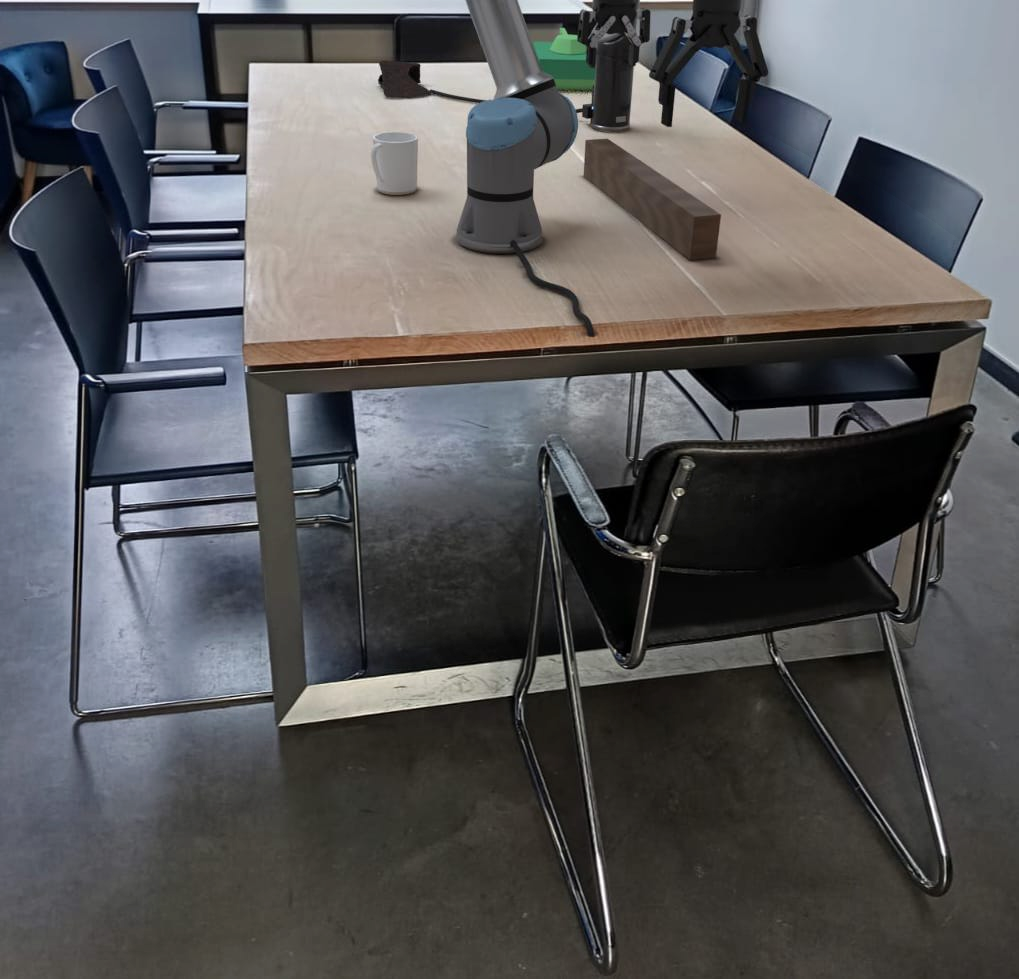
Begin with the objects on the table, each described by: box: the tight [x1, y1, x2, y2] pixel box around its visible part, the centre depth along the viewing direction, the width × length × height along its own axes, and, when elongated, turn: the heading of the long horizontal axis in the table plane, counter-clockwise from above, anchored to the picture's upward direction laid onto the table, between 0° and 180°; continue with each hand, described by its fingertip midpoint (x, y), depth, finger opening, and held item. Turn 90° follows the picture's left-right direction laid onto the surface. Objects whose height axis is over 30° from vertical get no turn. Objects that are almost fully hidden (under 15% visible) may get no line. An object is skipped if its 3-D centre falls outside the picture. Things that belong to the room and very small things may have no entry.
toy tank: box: [532, 27, 596, 91], centre depth 315 cm, size 18×12×35 cm
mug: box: [370, 131, 419, 196], centre depth 218 cm, size 11×9×10 cm
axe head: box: [377, 59, 433, 99], centre depth 299 cm, size 18×8×15 cm
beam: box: [583, 138, 722, 261], centre depth 209 cm, size 53×5×8 cm, turn 17°
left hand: (703, 123), depth 182 cm, fingers open, 13 cm apart
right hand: (611, 66), depth 216 cm, fingers open, 8 cm apart
